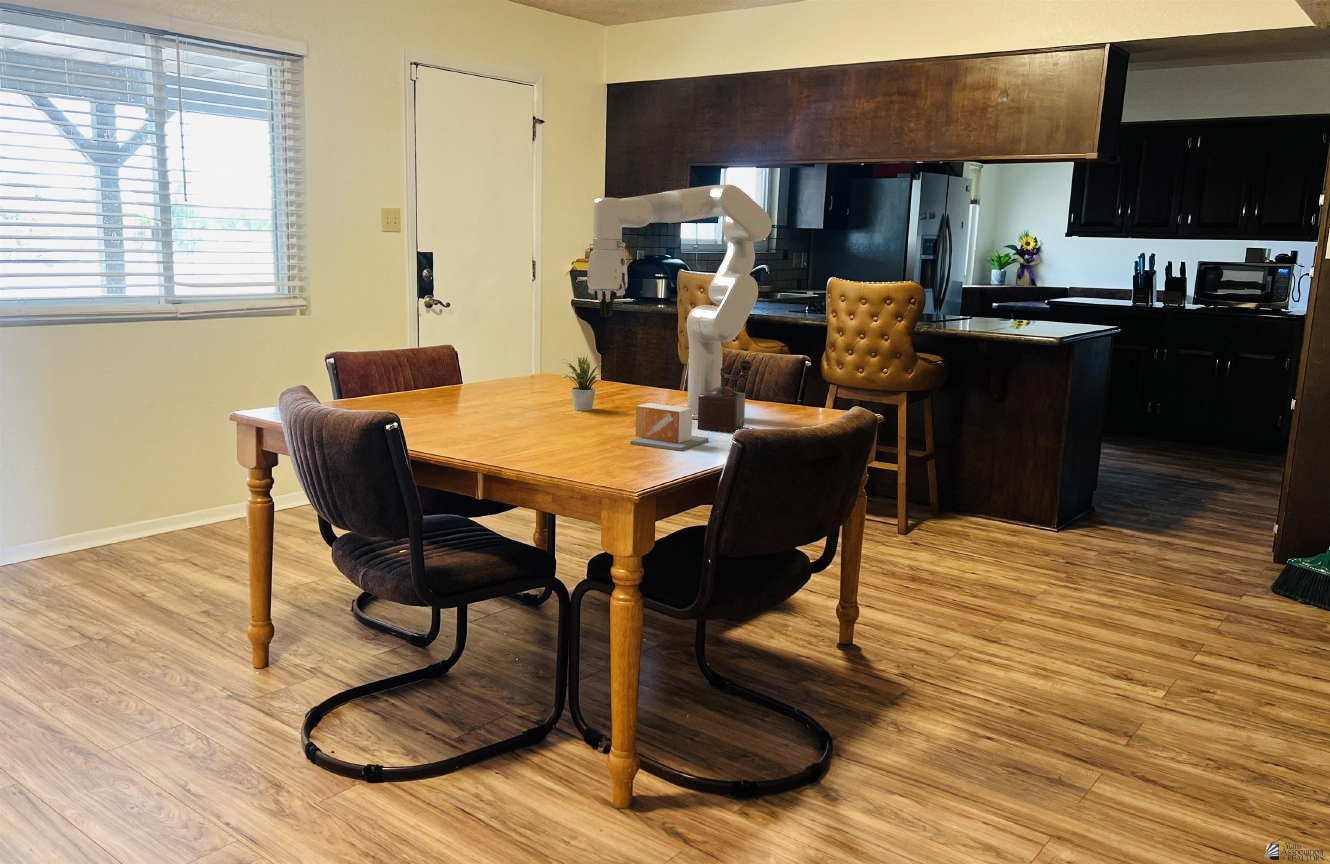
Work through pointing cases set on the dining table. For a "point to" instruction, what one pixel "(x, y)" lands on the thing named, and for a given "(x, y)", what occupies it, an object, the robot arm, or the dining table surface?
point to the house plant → (583, 385)
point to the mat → (669, 443)
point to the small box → (664, 422)
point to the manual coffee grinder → (723, 404)
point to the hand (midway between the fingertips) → (606, 316)
